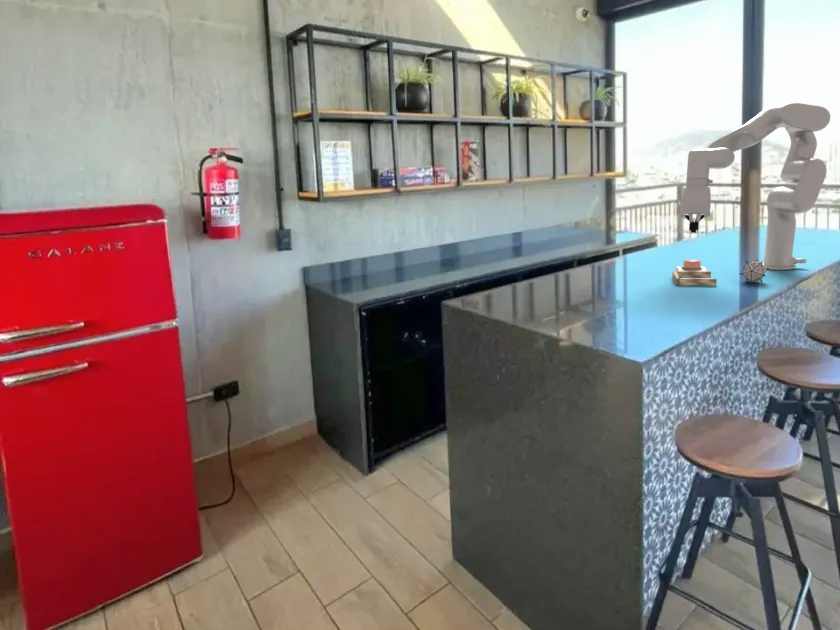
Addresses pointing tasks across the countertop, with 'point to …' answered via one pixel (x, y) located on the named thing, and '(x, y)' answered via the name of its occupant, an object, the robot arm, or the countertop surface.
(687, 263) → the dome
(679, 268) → the collar
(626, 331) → the countertop surface
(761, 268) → the game die
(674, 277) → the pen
